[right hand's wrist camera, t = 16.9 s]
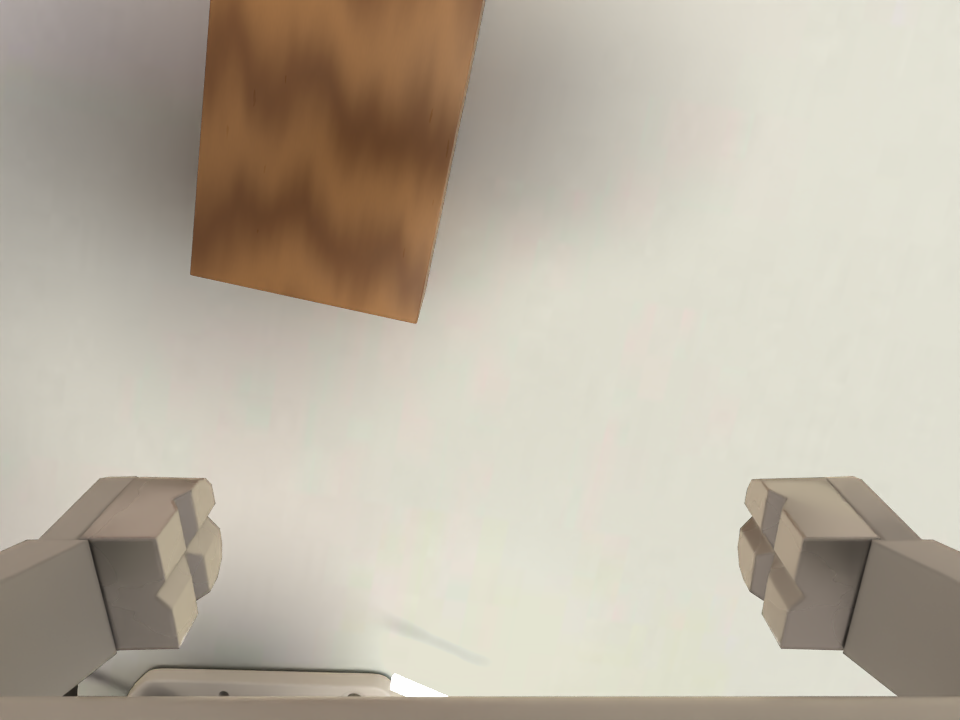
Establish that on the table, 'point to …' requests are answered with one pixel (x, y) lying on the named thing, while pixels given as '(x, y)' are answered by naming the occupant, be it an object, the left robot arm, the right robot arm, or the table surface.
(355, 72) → the bar
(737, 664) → the table surface
